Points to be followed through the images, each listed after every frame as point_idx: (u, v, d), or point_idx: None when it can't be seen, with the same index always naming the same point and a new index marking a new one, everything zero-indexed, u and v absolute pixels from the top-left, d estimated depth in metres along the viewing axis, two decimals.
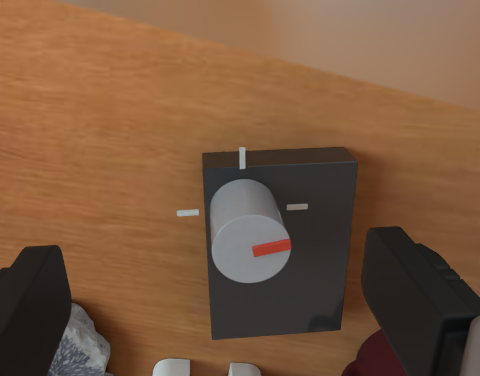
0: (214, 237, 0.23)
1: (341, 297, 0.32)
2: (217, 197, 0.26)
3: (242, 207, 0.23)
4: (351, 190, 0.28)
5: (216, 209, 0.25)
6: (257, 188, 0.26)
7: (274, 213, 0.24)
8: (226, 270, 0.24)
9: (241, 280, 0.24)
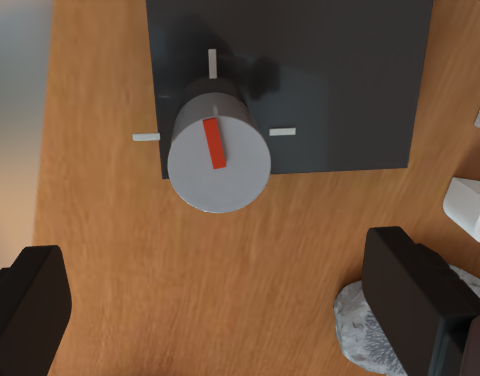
0: None
1: None
2: None
3: None
4: None
5: None
6: (174, 127, 0.21)
7: (178, 130, 0.18)
8: (248, 195, 0.19)
9: (265, 177, 0.18)
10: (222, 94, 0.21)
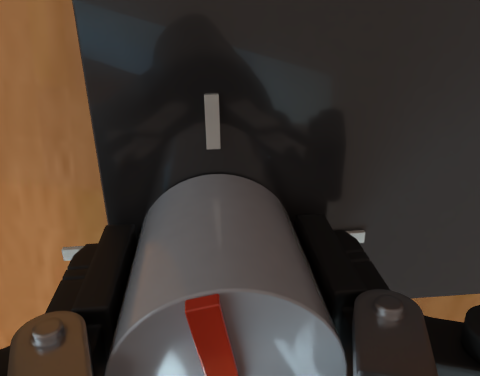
0: None
1: None
2: None
3: None
4: None
5: None
6: (136, 247, 0.11)
7: (132, 297, 0.08)
8: None
9: None
10: (231, 180, 0.11)
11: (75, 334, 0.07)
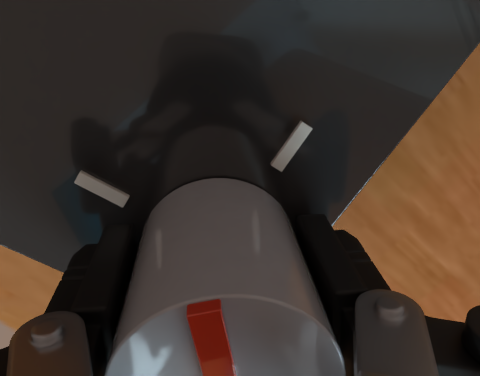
0: None
1: None
2: None
3: None
4: None
5: None
6: (137, 250, 0.11)
7: (133, 300, 0.08)
8: None
9: None
10: (234, 185, 0.11)
11: (74, 334, 0.07)
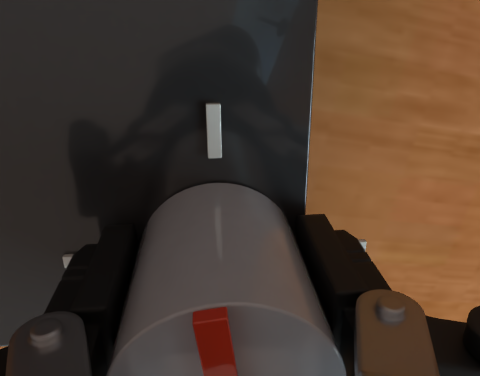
0: None
1: None
2: None
3: None
4: None
5: None
6: (138, 252, 0.11)
7: (136, 304, 0.08)
8: None
9: None
10: (237, 190, 0.11)
11: (73, 335, 0.07)
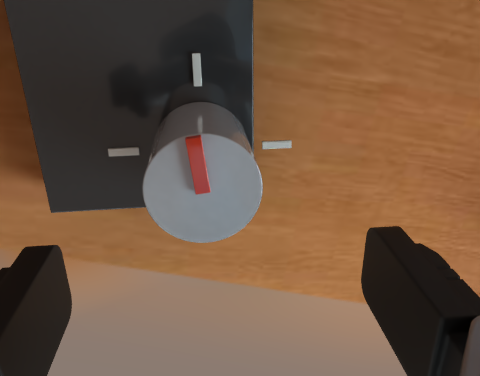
0: None
1: None
2: None
3: None
4: (47, 173, 0.20)
5: None
6: (154, 139, 0.18)
7: (157, 145, 0.16)
8: (235, 224, 0.16)
9: (255, 205, 0.16)
10: (211, 104, 0.19)
11: None
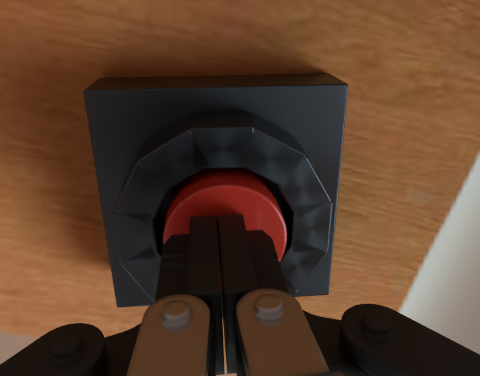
0: None
1: None
2: None
3: None
4: None
5: None
6: None
7: None
8: None
9: None
10: None
11: (201, 316, 0.08)
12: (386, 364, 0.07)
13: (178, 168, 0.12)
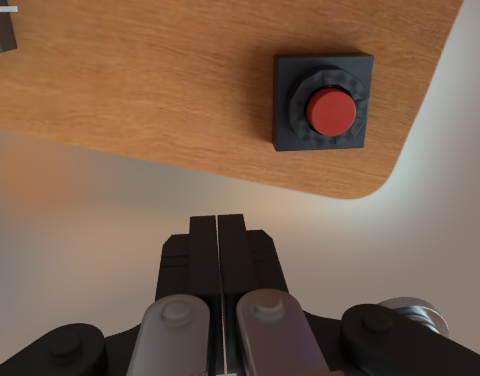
0: None
1: None
2: None
3: None
4: None
5: None
6: None
7: None
8: None
9: None
10: None
11: (202, 316, 0.08)
12: (386, 364, 0.07)
13: (315, 84, 0.34)
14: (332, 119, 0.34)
